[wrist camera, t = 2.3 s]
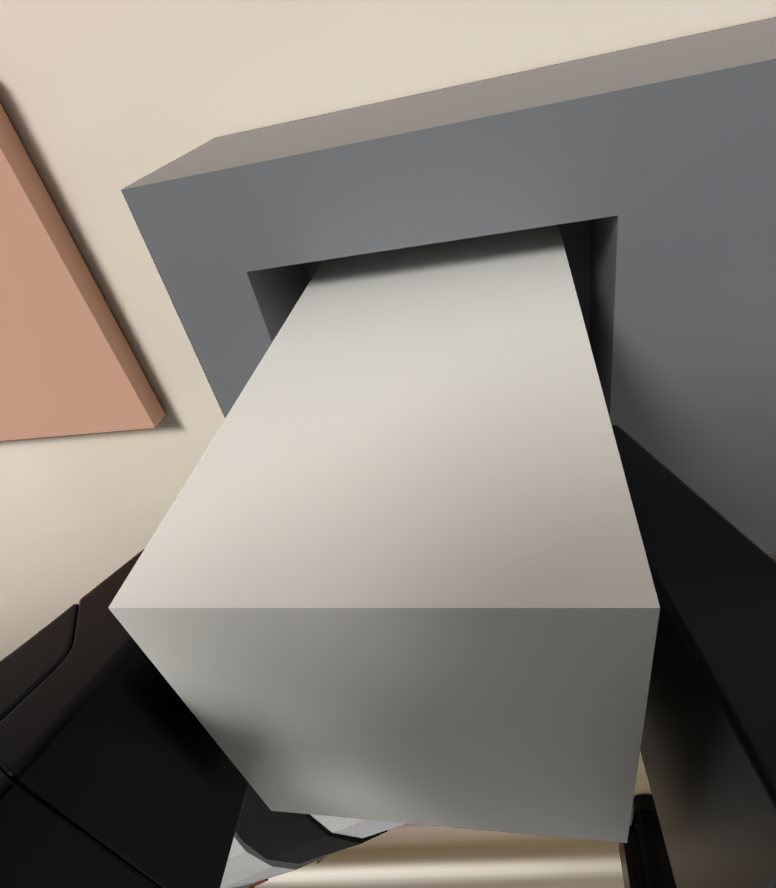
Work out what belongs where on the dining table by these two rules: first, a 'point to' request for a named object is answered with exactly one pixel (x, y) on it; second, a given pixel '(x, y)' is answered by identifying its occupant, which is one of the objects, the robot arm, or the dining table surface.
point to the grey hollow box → (525, 207)
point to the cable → (288, 841)
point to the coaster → (56, 322)
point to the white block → (416, 555)
